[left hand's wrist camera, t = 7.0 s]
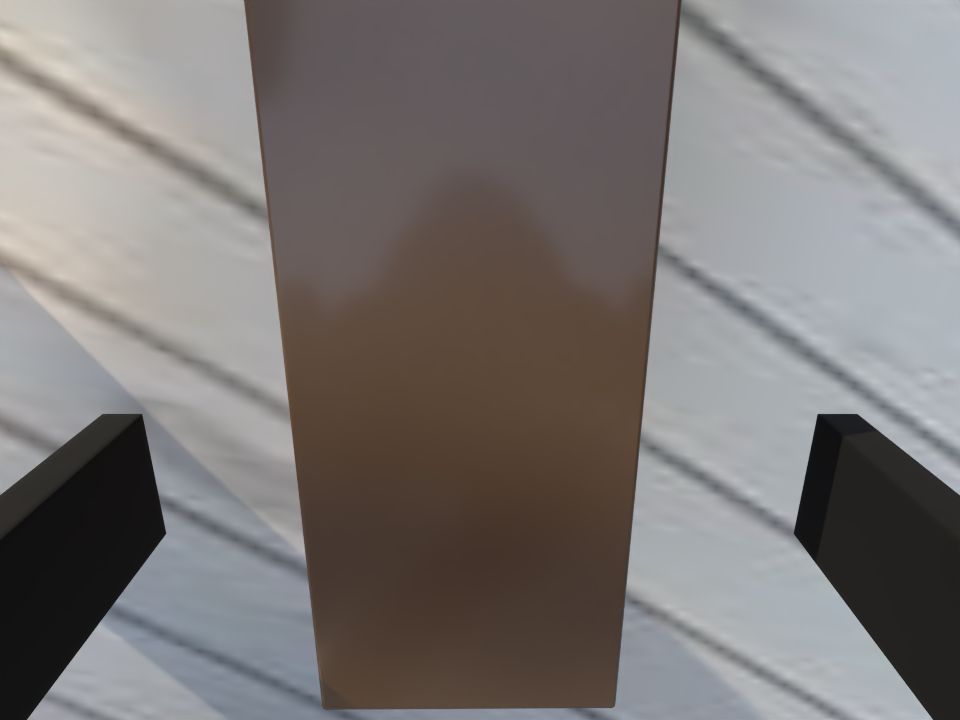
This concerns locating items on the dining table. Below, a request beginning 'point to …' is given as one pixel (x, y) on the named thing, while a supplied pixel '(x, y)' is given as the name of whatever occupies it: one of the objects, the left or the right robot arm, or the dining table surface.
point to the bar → (465, 330)
